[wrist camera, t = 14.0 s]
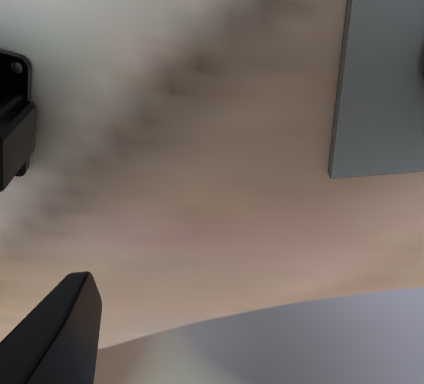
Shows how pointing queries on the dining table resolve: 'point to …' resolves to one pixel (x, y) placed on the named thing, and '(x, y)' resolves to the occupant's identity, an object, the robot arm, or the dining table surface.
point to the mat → (380, 90)
